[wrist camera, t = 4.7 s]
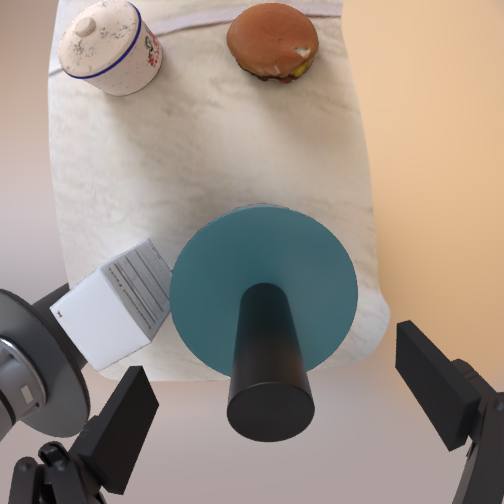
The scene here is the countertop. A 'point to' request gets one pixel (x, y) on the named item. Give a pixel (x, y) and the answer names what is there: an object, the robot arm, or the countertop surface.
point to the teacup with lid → (111, 48)
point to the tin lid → (264, 311)
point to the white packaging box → (117, 306)
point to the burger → (273, 42)
